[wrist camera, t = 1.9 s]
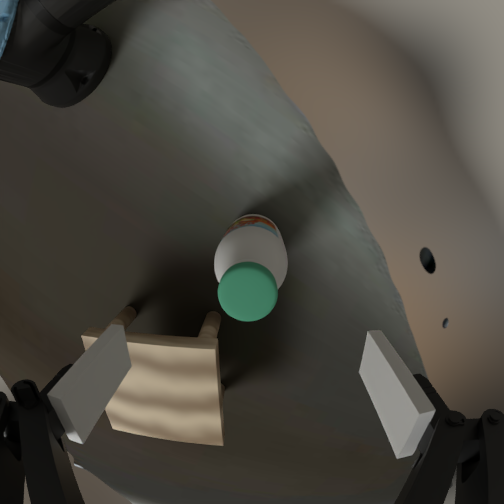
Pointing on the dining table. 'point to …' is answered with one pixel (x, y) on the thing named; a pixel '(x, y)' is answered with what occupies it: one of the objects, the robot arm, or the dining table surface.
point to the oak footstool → (169, 384)
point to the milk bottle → (250, 267)
